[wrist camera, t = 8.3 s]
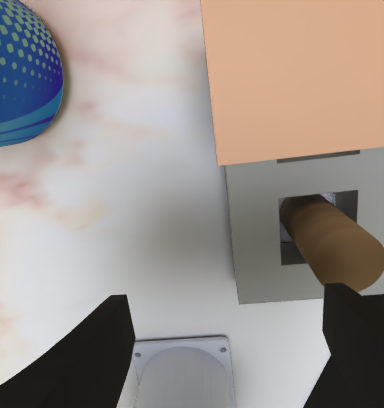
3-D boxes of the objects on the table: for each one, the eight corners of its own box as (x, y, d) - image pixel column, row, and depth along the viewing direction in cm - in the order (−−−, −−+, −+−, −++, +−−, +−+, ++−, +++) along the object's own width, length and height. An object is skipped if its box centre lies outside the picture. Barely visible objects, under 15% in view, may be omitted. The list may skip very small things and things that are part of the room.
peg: (328, 230, 21) (385, 289, 14) (281, 236, 21) (315, 297, 14) (326, 186, 20) (387, 227, 13) (277, 193, 20) (312, 237, 13)
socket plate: (374, 267, 21) (400, 292, 18) (235, 278, 22) (239, 304, 19) (389, 54, 17) (425, 43, 14) (215, 79, 18) (217, 73, 15)
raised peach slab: (393, 115, 18) (578, 124, 9) (213, 138, 19) (217, 166, 10) (401, 11, 16) (639, -107, 7) (203, 42, 17) (197, -28, 8)
